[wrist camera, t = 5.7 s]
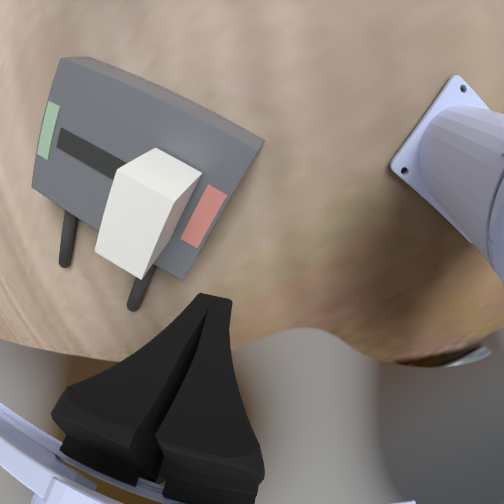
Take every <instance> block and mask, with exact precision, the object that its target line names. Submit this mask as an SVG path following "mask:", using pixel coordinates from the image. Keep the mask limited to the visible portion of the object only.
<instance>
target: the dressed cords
mask: <svg viewBox="0 0 504 504" xmlns="http://www.w3.org/2000/svg"><path fill="white" fill-rule="evenodd" d="M76 223H77V217H76V216H74V215H73V214H71V213H70V212H68V211H66V210H65V215H64V222H63V229H62V236H61V245H60V254H59V265H60V266H61V267H62V268H67V267H68V266H69V265H70V261H71V254H72V247H73V240H74V234H75V228H76ZM155 268H156V265H154V264H152V266H151V267H150V268H149V270H148V271H147V273H146V274H145V276H144V277H143V278H142V280H141V279H139V278H138V277H136V279H135V282H134V285H133V287H132V290H131V293H130V296H129V299H128V302H127V308H128V309H129V310H130V311H132V312H135V311H137V310H138V309H139V307H140V304H141V302H142V299H143V297H144V294H145V292H146V290H147V287H148V285H149V282H150V280H151V278H152V275H153V273H154V271H155Z"/></svg>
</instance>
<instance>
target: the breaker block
mask: <svg viewBox="0 0 504 504" xmlns="http://www.w3.org/2000/svg"><path fill="white" fill-rule="evenodd" d="M264 141H265V140H263V139H261V138H259V137H258V136H256V135H254V134H252V133H251V132H249V131H247V130H245V129H244V128H242V127H240V126H238V125H236V124H235V123H233V122H231V121H229V120H227V119H225V118H223V117H222V116H220V115H218V114H216V113H214V112H212V111H210V110H208V109H206V108H204V107H202V106H200V105H198V104H196V103H194V102H192V101H190V100H188V99H186V98H184V97H182V96H180V95H178V94H176V93H174V92H172V91H170V90H167V89H165V88H163V87H161V86H159V85H157V84H154V83H152V82H150V81H148V80H145V79H143V78H141V77H138V76H136V75H134V74H131V73H129V72H126V71H124V70H121V69H119V68H116V67H114V66H111V65H109V64H106V63H104V62H101V61H98V60H96V59H93V58H90V57H69V58H61V59H60V62H59V65H58V68H57V71H56V74H55V77H54V80H53V83H52V87H51V90H50V94H49V97H48V101H47V105H46V109H45V113H44V117H43V121H42V126H41V130H40V135H39V140H38V146H37V151H36V157H35V164H34V171H33V178H32V188H34V189H35V190H37V191H38V192H39V193H41V194H42V195H44V196H45V197H47V198H48V199H50V200H51V201H53V202H54V203H56V204H57V205H59V206H60V207H62V208H63V209H65V210H66V211H68V212H70V213H71V214H73V215H74V216H76V217H77V218H79V219H80V220H82V221H84V222H85V223H87V224H88V225H90V226H91V227H93V228H95V229H96V230H98V231H99V230H100V226H101V222H102V219H103V215H104V211H105V208H106V204H107V200H108V197H109V194H110V190H111V187H112V184H113V180H114V177H115V174H116V171H117V169H118V168H120V167H122V166H124V165H125V164H127V163H129V162H130V161H132V160H134V159H136V158H138V157H139V156H141V155H143V154H145V153H147V152H148V151H150V150H152V149H154V148H157V149H159V150H161V151H163V152H165V153H167V154H169V155H170V156H172V157H174V158H176V159H178V160H180V161H181V162H183V163H185V164H187V165H189V166H191V167H192V168H194V169H196V170H198V171H200V172H201V173H202V175H201V177H200V179H199V181H198V183H197V185H196V187H195V189H194V191H193V193H192V195H191V197H190V199H189V201H188V203H187V205H186V207H185V209H184V211H183V213H182V215H181V217H180V219H179V221H178V223H177V225H176V228H175V230H174V232H173V234H172V236H171V238H170V240H169V242H168V243H167V245H166V246H165V248H164V249H163V250H162V252H161V253H160V254H159V256H158V257H157V259H156V260H155V261H154V263H153V264H154V265H156V266H158V267H160V268H161V269H163V270H165V271H167V272H168V273H170V274H172V275H174V276H175V277H177V278H179V279H181V280H184V279H185V277H186V275H187V273H188V271H189V269H190V268H191V266H192V264H193V262H194V260H195V259H196V257H197V255H198V253H199V251H200V250H201V248H202V246H203V244H204V242H205V241H206V239H207V237H208V235H209V234H210V232H211V230H212V228H213V227H214V225H215V223H216V221H217V220H218V218H219V216H220V214H221V213H222V211H223V209H224V207H225V206H226V204H227V202H228V201H229V199H230V197H231V196H232V194H233V192H234V190H235V189H236V187H237V185H238V184H239V182H240V180H241V179H242V177H243V175H244V174H245V172H246V170H247V169H248V167H249V165H250V164H251V162H252V161H253V159H254V157H255V156H256V154H257V152H258V151H259V149H260V147H261V146H262V144H263V142H264Z"/></svg>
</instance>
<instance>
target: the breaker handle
mask: <svg viewBox="0 0 504 504" xmlns="http://www.w3.org/2000/svg"><path fill="white" fill-rule="evenodd" d="M201 175H202V173H201V172H200V171H198V170H196V169H194V168H192V167H191V166H189V165H187V164H185V163H183V162H181V161H180V160H178V159H176V158H174V157H172V156H170V155H169V154H167V153H165V152H163V151H161V150H159V149H157V148H154V149H152V150H150V151H148V152H147V153H145V154H143V155H141V156H139V157H138V158H136V159H134V160H132V161H130V162H129V163H127V164H125V165H124V166H122V167H120V168H118V169H117V171H116V174H115V177H114V180H113V184H112V187H111V190H110V194H109V197H108V200H107V204H106V208H105V211H104V215H103V219H102V222H101V226H100V230H99V235H98V239H97V243H96V247H95V252H97V253H98V254H100V255H101V256H103V257H105V258H106V259H108V260H109V261H111V262H113V263H114V264H116V265H118V266H119V267H121V268H122V269H124V270H126V271H127V272H129V273H131V274H132V275H134V276H136V277H138V278H139V279H141V280H142V278H143V277H144V276H145V274H146V273H147V271H148V270H149V268H150V267H151V266H152V264H153V263H154V261H155V260H156V259H157V257H158V256H159V254H160V253H161V252H162V250H163V249H164V248H165V246H166V245H167V243H168V242H169V240H170V238H171V236H172V234H173V232H174V230H175V228H176V225H177V223H178V221H179V219H180V217H181V215H182V213H183V211H184V209H185V207H186V205H187V203H188V201H189V199H190V197H191V195H192V193H193V191H194V189H195V187H196V185H197V183H198V181H199V179H200V177H201Z"/></svg>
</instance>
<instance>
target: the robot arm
mask: <svg viewBox="0 0 504 504" xmlns="http://www.w3.org/2000/svg"><path fill="white" fill-rule="evenodd" d="M461 85H462V86H463V87H464V91H463V92H461V90H460V86H461ZM390 167H391V169H392V171H393V172H394V173H396V174H397V175H398V176H399V177H400V178H402V179H403V180H404V181H405V182H406V183H407V184H409V185H410V186H411V187H412V188H413V189H414V190H416V191H417V192H418V193H419V194H420V195H421V196H422V197H423V198H425V199H426V200H427V201H428V202H429V203H430V204H431V205H432V206H433V207H434V208H435V209H437V210H438V211H439V212H440V213H441V214H442V215H443V216H444V217H445V218H446V219H447V220H448V221H449V222H450V223H451V224H452V225H453V226H454V227H455V228H456V229H457V230H458V231H459V232H460V233H461V234H462V235H463V236H464V237H465V238H466V239H467V240H468V241H469V242H470V243H471V244H474V245H475V246H476V248H477V249H478V250H479V251H480V253H481V254H482V255H483V257H484V258H485V259H486V260H487V262H488V263H489V264H490V266H491V267H492V268H493V270H494V271H495V272H496V274H497V275H498V277H499V278H500V280H501V281H502V282H503V284H504V115H503V114H500V113H497V112H493V111H490V110H489V108H488V107H487V106H486V105H485V104H484V102H483V101H482V100H481V99H480V98H479V97H478V95H477V94H476V93H475V92H474V91H473V90H472V89H471V88H470V87H469V85H468V84H467V83H466V82H465V81H464V80H463V79H462V78H461V77H459V76H456V75H454V76H451V77H450V79H449V80H448V82H447V83H446V85H445V86H444V87H443V89H442V90H441V92H440V93H439V95H438V96H437V98H436V99H435V101H434V102H433V104H432V105H431V106H430V108H429V109H428V111H427V112H426V114H425V115H424V116H423V118H422V119H421V121H420V122H419V123H418V125H417V126H416V128H415V129H414V130H413V132H412V133H411V134H410V136H409V137H408V139H407V140H406V141H405V143H404V144H403V145H402V147H401V148H400V149H399V151H398V152H397V154H396V155H395V156H394V158H393V159H392V160H391V162H390ZM403 167H406V168H407V170H406V172H405V173H401V169H402V168H403ZM231 309H232V301H231V300H230V299H226V298H222V297H217V296H212V295H208V294H203V293H199V294H198V295H197V296H196V297H195V298H194V299H193V301H192V302H191V303H190V304H189V305H188V306H187V307H186V308H185V309H184V310H183V312H182V313H181V314H180V315H179V316H178V317H177V318H176V319H175V320H174V321H173V322H172V323H170V324H169V325H168V326H167V327H166V328H165V329H164V330H163V331H162V332H161V333H159V334H158V335H157V336H156V337H155V338H154V339H152V340H151V341H150V342H149V343H147V344H146V345H145V346H143V347H142V348H141V349H139V350H138V351H137V352H135V353H134V354H132V355H131V356H129V357H127V358H126V359H124V360H123V361H121V362H120V363H118V364H116V365H115V366H113V367H111V368H109V369H107V370H105V371H103V372H101V373H99V374H97V375H95V376H93V377H91V378H88V379H86V380H83V381H81V382H78V383H76V384H73V385H71V386H68V387H67V388H66V390H65V391H64V392H63V393H62V395H61V396H60V398H59V400H58V402H57V403H56V405H55V407H54V409H53V410H52V412H51V416H52V419H53V420H54V421H55V423H56V424H57V425H58V426H59V427H60V428H61V429H62V430H63V431H64V433H65V434H66V437H65V439H64V441H63V443H62V442H61V441H59V440H57V439H55V438H53V437H51V436H50V435H48V434H47V433H45V432H43V431H42V430H40V429H38V428H37V427H35V426H34V425H32V424H31V423H29V422H28V421H26V420H24V419H23V418H22V417H20V416H19V415H17V414H16V413H14V412H13V411H11V410H10V409H9V408H7V407H6V406H5V405H3V404H2V403H1V402H0V465H1V466H2V467H3V468H4V469H5V470H7V471H8V472H9V473H10V474H11V475H13V476H14V477H15V478H16V479H18V480H19V481H20V482H21V483H23V484H24V485H25V486H27V487H28V488H30V489H31V490H32V491H33V492H35V494H34V497H33V499H32V501H31V504H123V503H120V502H118V501H115V500H113V499H111V498H109V497H106V496H104V495H102V494H100V493H98V492H95V489H96V487H97V486H96V484H95V483H93V482H91V481H90V480H88V479H86V478H85V477H83V476H82V475H81V474H80V473H78V472H77V471H75V470H73V469H72V468H70V467H68V466H67V465H65V464H63V463H62V461H61V459H62V460H63V461H65V462H67V463H69V464H71V465H73V466H74V467H76V468H78V469H80V470H82V471H84V472H86V473H88V474H91V475H92V476H95V477H97V478H99V479H101V480H103V481H106V482H108V483H110V484H112V485H115V486H117V487H119V488H122V489H124V490H127V491H129V492H132V493H135V494H137V495H140V496H143V497H146V498H149V499H152V500H155V501H158V502H161V503H164V504H254V503H255V498H256V496H257V492H258V486H259V484H260V483H261V482H262V481H263V480H264V476H265V475H264V474H265V469H264V463H263V458H262V454H261V450H260V445H259V443H258V440H257V438H256V436H255V434H254V432H253V429H252V427H251V425H250V422H249V420H248V417H247V414H246V412H245V408H244V405H243V403H242V400H241V396H240V393H239V389H238V386H237V382H236V377H235V373H234V368H233V363H232V356H231V349H230V336H229V326H230V317H231ZM164 481H166V483H165V486H163V485H160V483H163V482H164ZM391 504H416V502H415V501H414V500H412V501H406V502H399V503H391Z"/></svg>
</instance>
